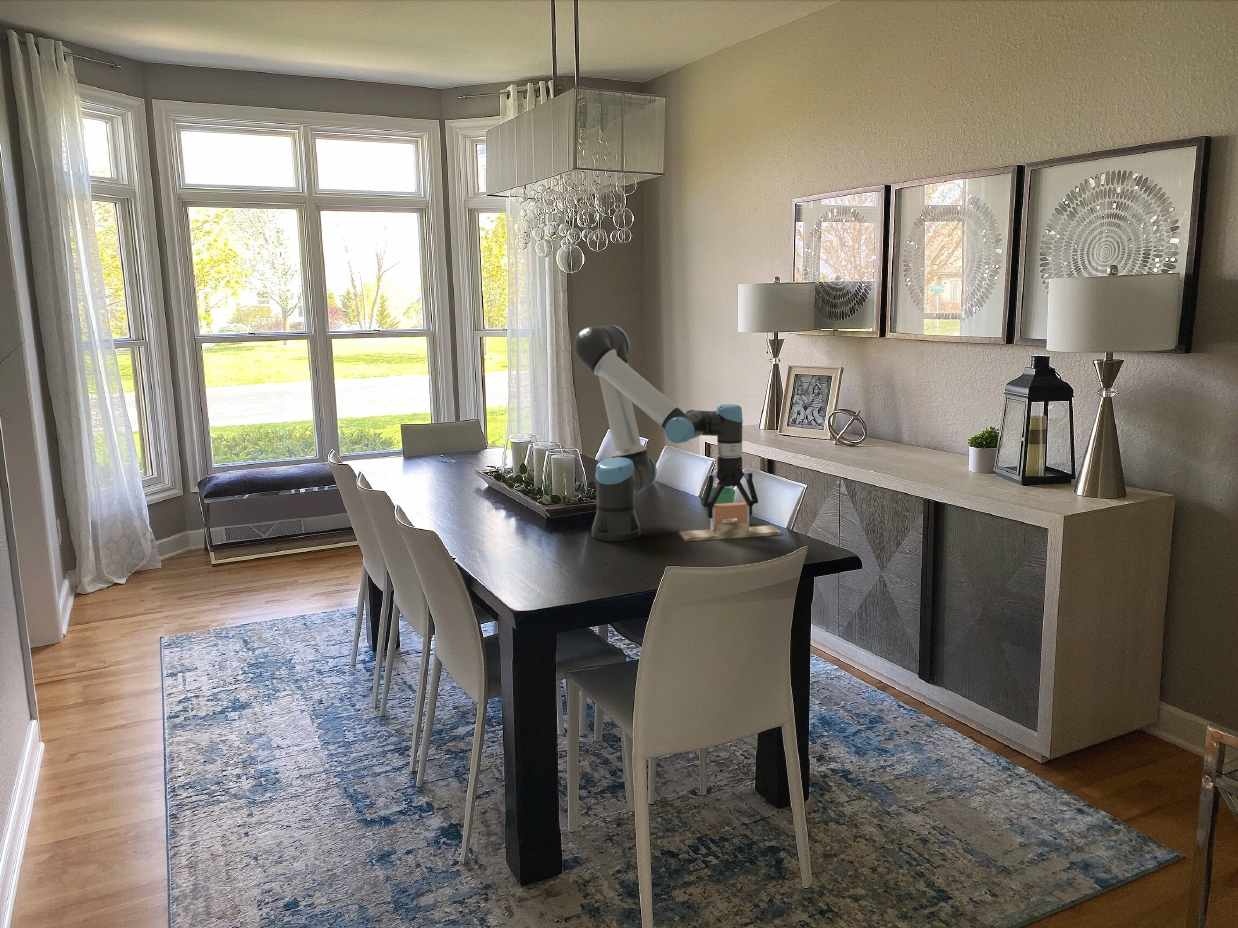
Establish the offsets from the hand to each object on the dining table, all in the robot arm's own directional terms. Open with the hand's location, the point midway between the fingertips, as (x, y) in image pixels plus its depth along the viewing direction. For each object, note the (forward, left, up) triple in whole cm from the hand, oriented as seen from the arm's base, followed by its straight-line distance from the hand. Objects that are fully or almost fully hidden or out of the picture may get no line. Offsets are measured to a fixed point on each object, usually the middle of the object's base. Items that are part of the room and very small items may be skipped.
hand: (729, 527), depth 283 cm
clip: (0, 0, 0) cm, 0 cm away
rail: (0, 0, -2) cm, 2 cm away
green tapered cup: (+2, +21, -3) cm, 21 cm away
